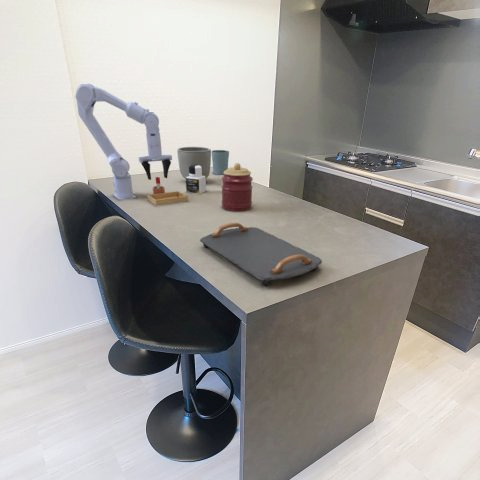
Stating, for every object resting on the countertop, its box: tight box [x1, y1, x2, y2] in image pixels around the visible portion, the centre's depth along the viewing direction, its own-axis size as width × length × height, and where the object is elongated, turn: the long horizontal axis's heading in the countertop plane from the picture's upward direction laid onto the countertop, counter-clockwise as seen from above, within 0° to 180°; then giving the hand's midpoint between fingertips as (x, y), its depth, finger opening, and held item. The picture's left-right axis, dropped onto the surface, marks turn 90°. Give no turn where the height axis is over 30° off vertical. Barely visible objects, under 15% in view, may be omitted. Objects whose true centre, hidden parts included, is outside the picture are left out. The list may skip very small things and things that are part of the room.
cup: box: [152, 185, 166, 194], centre depth 162 cm, size 5×5×4 cm
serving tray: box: [199, 222, 323, 287], centre depth 107 cm, size 39×23×6 cm, turn 35°
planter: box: [176, 146, 212, 180], centre depth 185 cm, size 17×17×16 cm
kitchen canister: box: [221, 162, 254, 212], centre depth 147 cm, size 13×13×18 cm
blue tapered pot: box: [211, 149, 230, 176], centre depth 206 cm, size 10×10×12 cm
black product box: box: [185, 165, 207, 194], centre depth 169 cm, size 7×7×12 cm
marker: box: [154, 176, 161, 189], centre depth 161 cm, size 2×2×8 cm
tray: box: [147, 190, 189, 206], centre depth 157 cm, size 10×15×2 cm, turn 122°
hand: (157, 178), depth 159 cm, fingers open, 7 cm apart
